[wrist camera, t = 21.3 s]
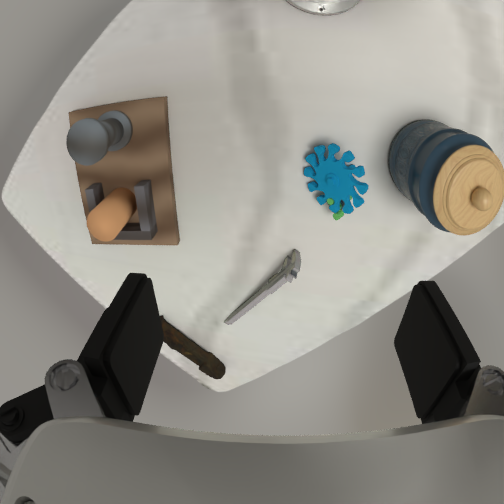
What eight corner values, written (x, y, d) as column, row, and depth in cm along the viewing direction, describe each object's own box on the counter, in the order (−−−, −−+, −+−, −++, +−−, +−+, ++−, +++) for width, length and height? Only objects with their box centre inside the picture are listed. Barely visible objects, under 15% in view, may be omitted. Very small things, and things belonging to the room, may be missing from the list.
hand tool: (151, 320, 61) (144, 337, 57) (162, 312, 60) (156, 328, 56) (216, 370, 68) (214, 386, 64) (229, 363, 67) (227, 380, 63)
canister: (432, 102, 37) (505, 122, 22) (468, 168, 42) (535, 213, 26) (370, 151, 42) (421, 193, 27) (412, 213, 47) (464, 275, 31)
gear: (298, 139, 41) (364, 155, 34) (323, 129, 43) (385, 143, 37) (303, 209, 47) (360, 232, 41) (326, 194, 50) (380, 214, 44)
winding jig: (73, 111, 40) (35, 122, 32) (167, 96, 40) (140, 101, 31) (96, 239, 52) (69, 270, 43) (179, 240, 51) (162, 275, 43)
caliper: (294, 246, 51) (297, 268, 46) (299, 250, 51) (302, 272, 46) (223, 320, 60) (219, 344, 55) (228, 323, 60) (224, 347, 55)
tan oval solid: (105, 189, 45) (82, 210, 38) (134, 185, 45) (113, 206, 38) (113, 218, 48) (92, 242, 41) (140, 215, 48) (122, 240, 41)
